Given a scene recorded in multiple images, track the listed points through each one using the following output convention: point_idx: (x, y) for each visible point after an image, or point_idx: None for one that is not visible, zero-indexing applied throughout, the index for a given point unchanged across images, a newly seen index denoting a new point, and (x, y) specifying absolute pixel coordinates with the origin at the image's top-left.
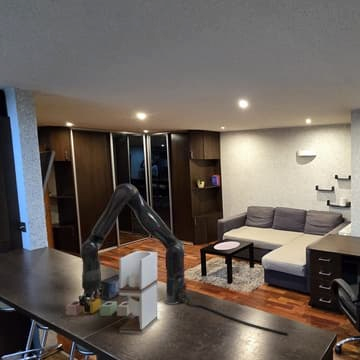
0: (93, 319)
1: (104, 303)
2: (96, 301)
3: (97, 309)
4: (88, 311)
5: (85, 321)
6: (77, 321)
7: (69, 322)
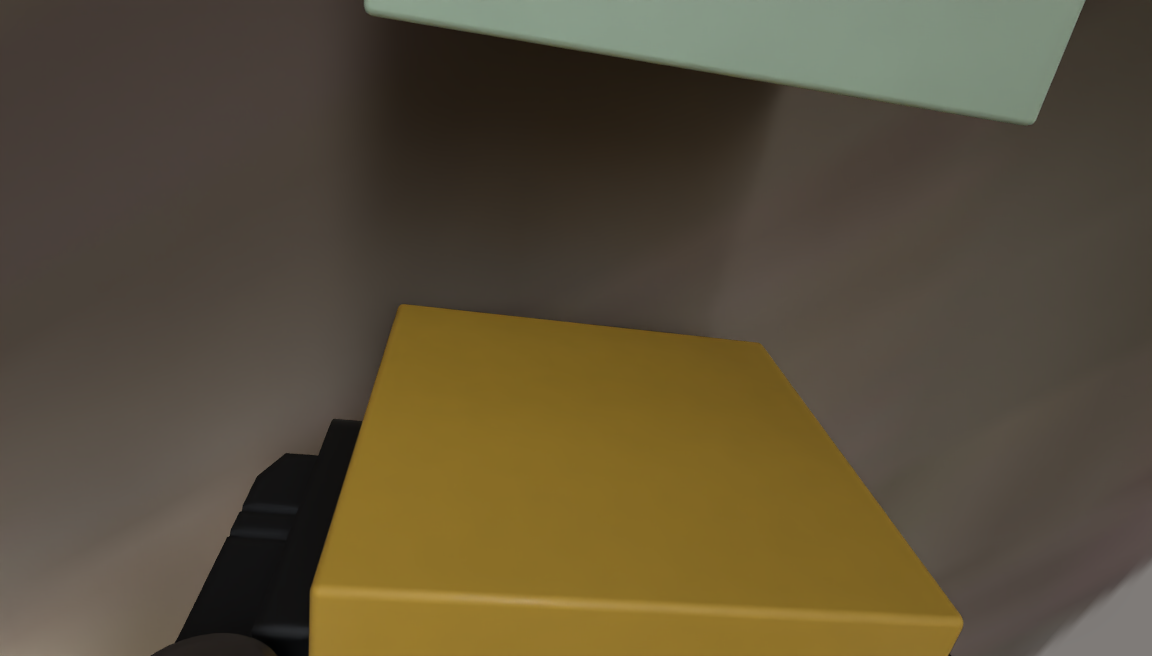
0: (989, 150)
1: (678, 55)
2: (675, 591)
3: (557, 325)
4: None
5: (1027, 311)
6: (948, 493)
7: None
